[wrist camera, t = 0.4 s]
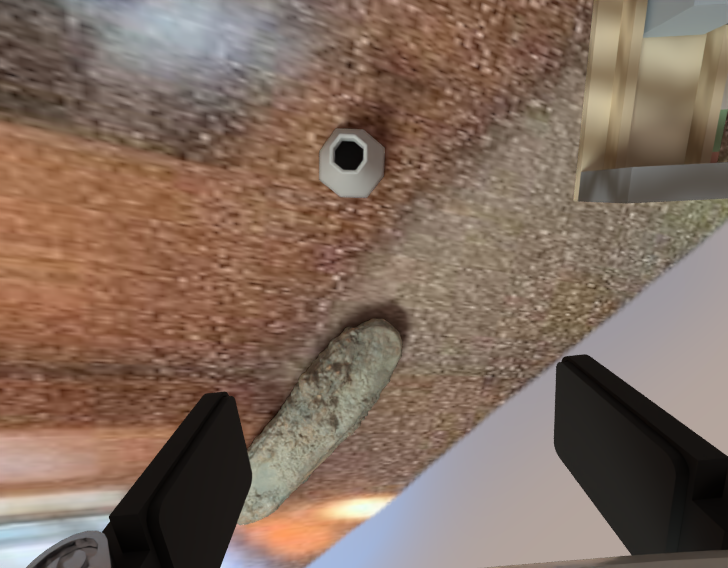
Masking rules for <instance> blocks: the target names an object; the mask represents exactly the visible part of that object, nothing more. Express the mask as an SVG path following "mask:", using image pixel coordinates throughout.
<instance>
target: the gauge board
mask: <svg viewBox="0 0 728 568" xmlns="http://www.w3.org/2000/svg"><path fill="white" fill-rule="evenodd" d="M647 4H648V0H594V5H593V15H592V24H591V34H590V44H589V54H588V64H587V74H586V83H585V93H584V103H583V113H582V123H581V132H580V142H579V152H578V162H577V172H576V182H575V191H574V201H584V202H608V203H643V202H664V201H684V200H704V199H724V198H728V162H723V163H717V161H718V156H719V151H720V146H721V141H722V136H723V131H724V126H725V121H726V116H727V111H728V25H723V26H721V27H719V28H716V29H714V30H712V31H710V32H708V33H706V34H704V35H685V36H667V37H648V38H643V33H644V26H645V18H646V11H647Z"/></svg>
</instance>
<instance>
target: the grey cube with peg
mask: <svg viewBox="0 0 728 568" xmlns="http://www.w3.org/2000/svg"><path fill="white" fill-rule="evenodd" d="M723 25H728V0H648V4H647V11H646V18H645V26H644V33H643V38H648V37H667V36H685V35H704V34H706V33H708V32H710V31H712V30H714V29H716V28H719V27H721V26H723Z"/></svg>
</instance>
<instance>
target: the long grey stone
mask: <svg viewBox="0 0 728 568" xmlns="http://www.w3.org/2000/svg"><path fill="white" fill-rule="evenodd" d="M402 345H403V342H402V339H401V336H400V333H399V331H397V330H396V329H395V328H394V327H393V326H392V325H391V324H390V323H389V322H387V321H386V320H384V319H374V318H372V319H371V320H369V321H366V322H364V323H362V324H360V325H359V326H358V327H355V328H352V327H351V326H350V327H346V328H345V329H344V332H342V333H341V335H340V336H339V337H336V338H334V339H333V340H332V341H331V342H330V344H329V346H328V347H327V348H326V349H325V350H324V351H323V352H321V353H320V354H319V357H318V358H317V359H316V360H314V361H313V363H312V365H311V366H310V367H309V368H308V370H307V372H304V373H303V374H302V375H301V376H300V377H299V382H298V383H297V384H296V385H295V386H294V389H293V391H292V392H291V395H290V396H289V397H288V398H287V400H286V402H285V403H284V404H283V405H282V408H281V410H279V412H278V414H277V415H276V416H275V417H274V418H273V419H272V420H271V421H270V422H269V423H268V424H267V425H266V427H265V428H264V430H263V432H262V433H261V434H260V435H259V436H257V437H255V439H254V441H253V443H252V445H251V446H250V447H249V448H248V450H247V452H248V456H249V461H250V465H251V469H252V484H251V487H250V490H249V493H248V495H247V498H246V500H245V503H244V506H243V508H242V511H241V514H240V516H239V519H238V522H237V524H239V525H243V524H244V525H245V524H249V523H253V522H256V521H258V520H261V519H263V518H265V517H267V516H269V515H270V514H271V513H273V512H275V511H276V510H277V509H278V508H279V506H280V505H281V504H282V503H283V502H284V501H285V500H286V499H287V498H288V497H289V496H290V494H291V493H292V492H293V491H294V490H296V489H297V488H298V486H300V485H301V484H303V483H304V482H306V481H307V480H308V478H309V477H310V475H311V473H312V472H313V471H314V470H315V469H316V468H317V467H318V466H319V465H320V464H321V463H322V462H323V461H324V460H325V459H326V458H327V457H329V456H330V455H331V454H332V453H333V452H334V449H336V448H337V446H338V445H339V444H340V443H341V442H342V441H344V440H345V439H347V437H348V436H350V435H353V433H354V431H355V430H356V429H357V428H358V427H359V426H360V425H361V420H364V419H365V416H367V415H368V411H369V410H371V407H372V406H373V405H374V403H376V402H377V400H378V399H379V397H380V393H381V391H382V389H383V388H384V387H385V386H386V385H387V384H388V383H389V382H390V377H391V375H392V374H393V371H394V368H395V367H396V365H397V364H398V361H399V359H400V358H401V357H402Z"/></svg>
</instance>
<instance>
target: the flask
mask: <svg viewBox="0 0 728 568" xmlns="http://www.w3.org/2000/svg"><path fill="white" fill-rule="evenodd" d="M384 157H385V147H383V146H382V145H381V144H380V143H379V142H378V141H377V140H375V139H374V138H373V137H372V136H371V135H370V134H368V133H367V132H366V131H365V130H364V129H341V128H336V129H335V130H334V132H333V133H332V134H331V136H330V137H329V138H328V140H327V141H326V143H325V144H324V145H323V147H322V148H321V150H320V151H319V180H320V181H321V182H323V183H324V184H325V185H326V186H327V187H329V188H330V189H331V190H332V191H334V192H335V193H336V194H337V195H339V196H340V197H354V198H367V197H368V196H369V195H370V193H371V192H372V191H373V189H374V188H375V187H376V186H377V184H378V183H379V182H380V180H381V179H382V178H383V177H384Z"/></svg>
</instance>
